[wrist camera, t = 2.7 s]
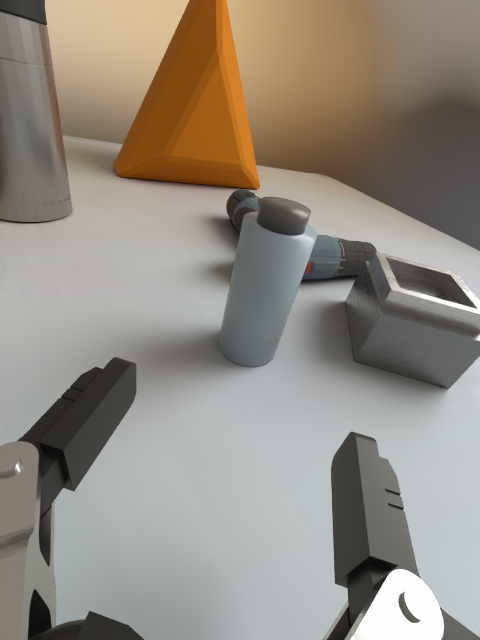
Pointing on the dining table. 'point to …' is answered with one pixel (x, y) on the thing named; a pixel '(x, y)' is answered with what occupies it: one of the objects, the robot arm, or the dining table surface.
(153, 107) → the decorative object
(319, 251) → the power drill
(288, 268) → the capped canister
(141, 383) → the dining table surface
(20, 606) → the robot arm
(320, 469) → the dining table surface
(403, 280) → the grey metal open box
